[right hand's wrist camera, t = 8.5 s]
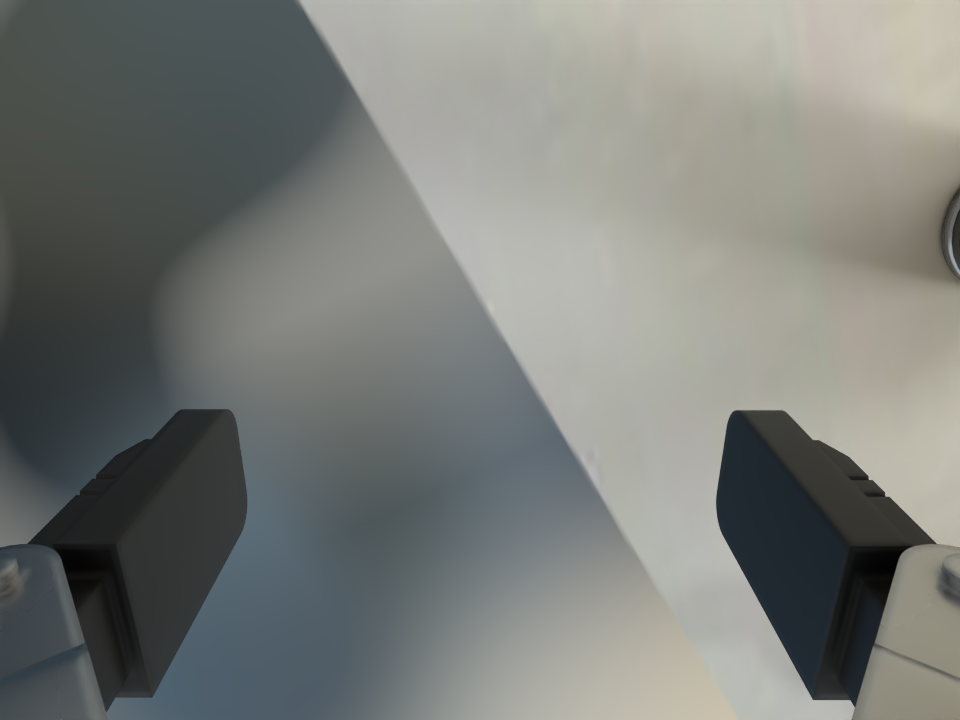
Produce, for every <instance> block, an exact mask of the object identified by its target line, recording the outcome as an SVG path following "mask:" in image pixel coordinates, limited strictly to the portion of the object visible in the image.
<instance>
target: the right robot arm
mask: <svg viewBox="0 0 960 720" xmlns="http://www.w3.org/2000/svg"><path fill="white" fill-rule="evenodd" d="M942 247H943V253H944V256H945V259H946V262H947V264H948V266H949V267H950V269H951V270H952V272H953V273H954V274H955V275H956V276H957V277H958V278H959V279H960V190H959V192H958V193H957V195H956V196H955V198H954V200H953V201H952V203H951V205H950V207H949V210H948V212H947V215H946V218H945V221H944V225H943V231H942ZM868 477H869V476H868V475H867V474H866V473H865V472H864V471H863V470H862V469H861V468H860V467H859V466H858V465H857V464H856V463H855V462H854V461H853V460H852V459H851V458H850V457H848V456H846V455H845V454H843V453H841V452H839V451H837V450H835V449H834V448H832V447H830V446H828V445H826V444H825V443H823V442H821V441H819V440H812V439H811V438H810V437H809V436H808V435H807V433H806V432H805V431H804V430H803V429H802V428H801V427H800V426H799V425H798V424H797V423H796V422H795V421H794V420H793V419H792V418H791V417H790V416H789V415H788V414H787V413H786V412H785V411H783V410H736V411H734V412H733V413H732V414H731V415H730V417H729V420H728V424H727V429H726V436H725V442H724V449H723V456H722V462H721V469H720V476H719V482H718V489H717V497H716V509H717V518H718V523H719V527H720V530H721V532H722V534H723V536H724V538H725V540H726V542H727V544H728V546H729V547H730V549H731V551H732V553H733V555H734V556H735V558H736V560H737V562H738V564H739V566H740V567H741V569H742V571H743V573H744V575H745V577H746V578H747V580H748V582H749V584H750V586H751V588H752V589H753V591H754V593H755V595H756V597H757V598H758V600H759V602H760V604H761V606H762V608H763V609H764V611H765V613H766V615H767V617H768V619H769V620H770V622H771V624H772V626H773V628H774V629H775V631H776V633H777V635H778V637H779V639H780V640H781V642H782V644H783V646H784V648H785V650H786V651H787V653H788V655H789V657H790V659H791V660H792V662H793V664H794V666H795V668H796V670H797V671H798V673H799V675H800V677H801V679H802V681H803V682H804V684H805V686H806V688H807V690H808V691H809V693H810V695H811V697H812V699H813V700H851V702H852V703H853V705H854V707H855V710H854V713H853V717H852V720H960V548H959V547H954V546H949V545H940V544H936V543H935V542H934V541H933V540H932V539H931V538H930V537H929V536H928V535H927V534H926V533H925V532H924V531H923V530H922V529H921V528H920V527H919V526H918V525H917V524H916V523H915V522H914V521H913V520H912V519H911V518H910V517H909V516H908V515H907V514H906V513H905V512H904V511H903V510H902V509H901V508H900V507H899V506H898V505H897V504H896V503H895V502H894V501H893V500H892V499H891V498H890V497H885V492H884V491H883V490H882V489H881V488H880V487H879V486H878V485H877V484H876V483H875V482H874V481H873V480H869V479H868ZM246 513H247V491H246V484H245V477H244V470H243V464H242V457H241V450H240V443H239V437H238V430H237V424H236V420H235V417H234V415H233V413H232V412H231V411H230V410H228V409H182V410H179V411H178V412H177V413H176V414H175V415H174V416H173V417H172V418H171V419H170V420H169V421H168V422H167V423H166V424H165V425H164V427H163V428H162V429H161V430H160V431H159V432H158V433H157V434H156V435H155V436H154V437H153V438H152V439H145V440H143V441H141V442H139V443H138V444H136V445H134V446H132V447H130V448H129V449H127V450H125V451H123V452H121V453H120V454H118V455H116V456H115V457H114V458H113V459H112V460H111V461H110V462H109V463H108V464H107V465H106V466H105V467H104V468H103V469H102V470H101V471H100V472H99V473H98V474H97V475H96V479H92V480H91V481H90V482H89V483H88V484H87V485H86V486H85V487H84V488H83V489H82V490H81V491H80V495H76V496H75V497H74V498H73V499H72V500H71V501H70V502H69V503H68V504H67V505H66V506H65V507H64V508H63V509H62V510H61V511H60V512H59V513H58V514H57V515H56V516H55V517H54V518H53V519H52V520H51V521H50V522H49V523H48V524H47V525H46V526H45V527H44V528H43V529H42V530H41V531H40V532H39V533H38V534H37V535H36V536H35V537H34V538H33V539H32V540H31V541H30V542H29V543H28V544H20V545H11V546H6V547H1V548H0V720H108V717H107V714H106V712H107V710H108V709H109V707H110V706H111V704H112V702H113V701H114V699H115V697H153V695H154V693H155V691H156V690H157V688H158V686H159V684H160V682H161V680H162V679H163V677H164V675H165V673H166V671H167V669H168V667H169V666H170V664H171V662H172V660H173V658H174V656H175V655H176V653H177V651H178V649H179V647H180V645H181V643H182V642H183V640H184V638H185V636H186V634H187V632H188V630H189V629H190V627H191V625H192V623H193V621H194V619H195V618H196V616H197V614H198V612H199V610H200V608H201V607H202V605H203V603H204V601H205V599H206V597H207V595H208V594H209V592H210V590H211V588H212V586H213V584H214V582H215V581H216V579H217V577H218V575H219V573H220V571H221V570H222V568H223V566H224V564H225V562H226V560H227V559H228V557H229V555H230V553H231V551H232V549H233V547H234V546H235V544H236V542H237V540H238V538H239V536H240V534H241V532H242V530H243V527H244V524H245V519H246Z"/></svg>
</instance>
